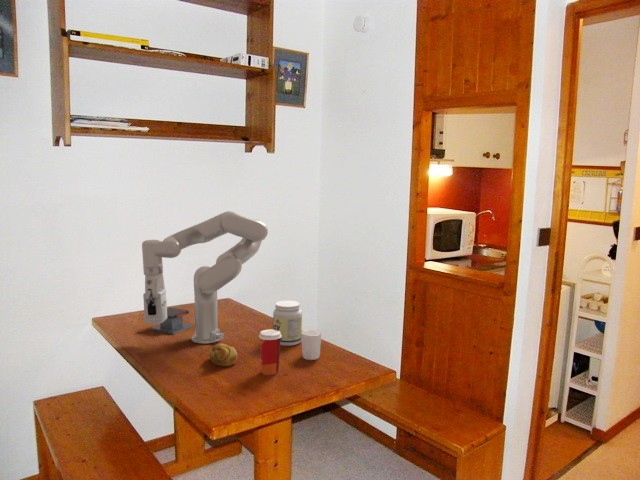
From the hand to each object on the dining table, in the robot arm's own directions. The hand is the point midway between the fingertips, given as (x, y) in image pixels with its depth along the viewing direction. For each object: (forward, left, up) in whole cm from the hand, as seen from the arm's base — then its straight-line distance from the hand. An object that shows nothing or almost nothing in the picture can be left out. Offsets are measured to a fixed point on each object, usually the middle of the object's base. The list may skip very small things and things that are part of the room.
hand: (155, 311), depth 216 cm
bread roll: (-37, +4, -14) cm, 39 cm away
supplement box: (0, 0, -4) cm, 4 cm away
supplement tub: (-46, -28, -14) cm, 56 cm away
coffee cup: (-57, +4, -14) cm, 59 cm away
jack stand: (+9, -18, -14) cm, 25 cm away
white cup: (-63, -17, -14) cm, 67 cm away
